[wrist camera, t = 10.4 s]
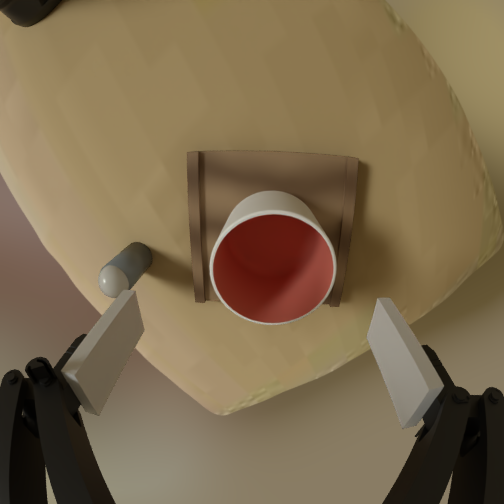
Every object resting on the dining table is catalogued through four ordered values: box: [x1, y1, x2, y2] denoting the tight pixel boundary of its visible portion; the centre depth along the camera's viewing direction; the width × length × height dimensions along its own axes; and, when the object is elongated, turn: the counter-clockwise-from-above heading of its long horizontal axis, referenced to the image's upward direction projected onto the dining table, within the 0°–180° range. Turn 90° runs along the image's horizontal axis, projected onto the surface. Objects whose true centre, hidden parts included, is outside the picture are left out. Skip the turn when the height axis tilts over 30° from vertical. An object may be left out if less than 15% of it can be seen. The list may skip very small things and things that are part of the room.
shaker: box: [98, 242, 152, 298], centre depth 30 cm, size 4×4×9 cm
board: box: [187, 151, 359, 307], centre depth 31 cm, size 18×18×2 cm
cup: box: [210, 191, 337, 325], centre depth 26 cm, size 10×10×10 cm
